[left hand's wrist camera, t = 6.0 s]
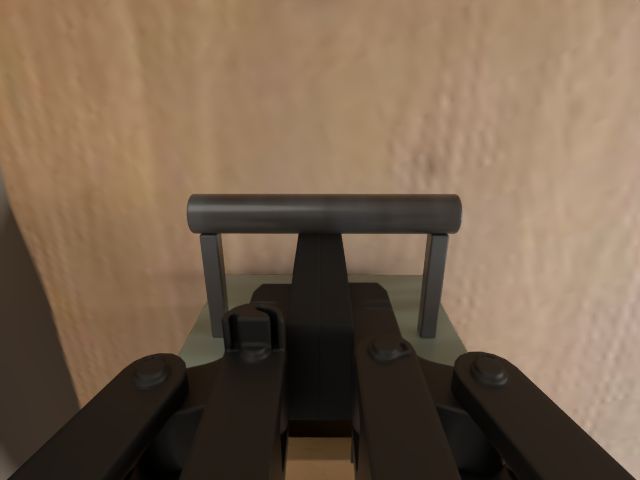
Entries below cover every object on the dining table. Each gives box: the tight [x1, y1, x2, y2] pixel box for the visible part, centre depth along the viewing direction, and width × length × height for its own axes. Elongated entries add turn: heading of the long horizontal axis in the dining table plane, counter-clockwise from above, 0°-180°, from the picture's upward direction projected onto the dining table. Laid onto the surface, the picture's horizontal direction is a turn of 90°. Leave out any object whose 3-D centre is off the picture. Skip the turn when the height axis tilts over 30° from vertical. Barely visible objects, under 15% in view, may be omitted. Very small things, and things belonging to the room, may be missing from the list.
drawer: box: [178, 194, 468, 437], centre depth 18 cm, size 23×10×8 cm, turn 0°
